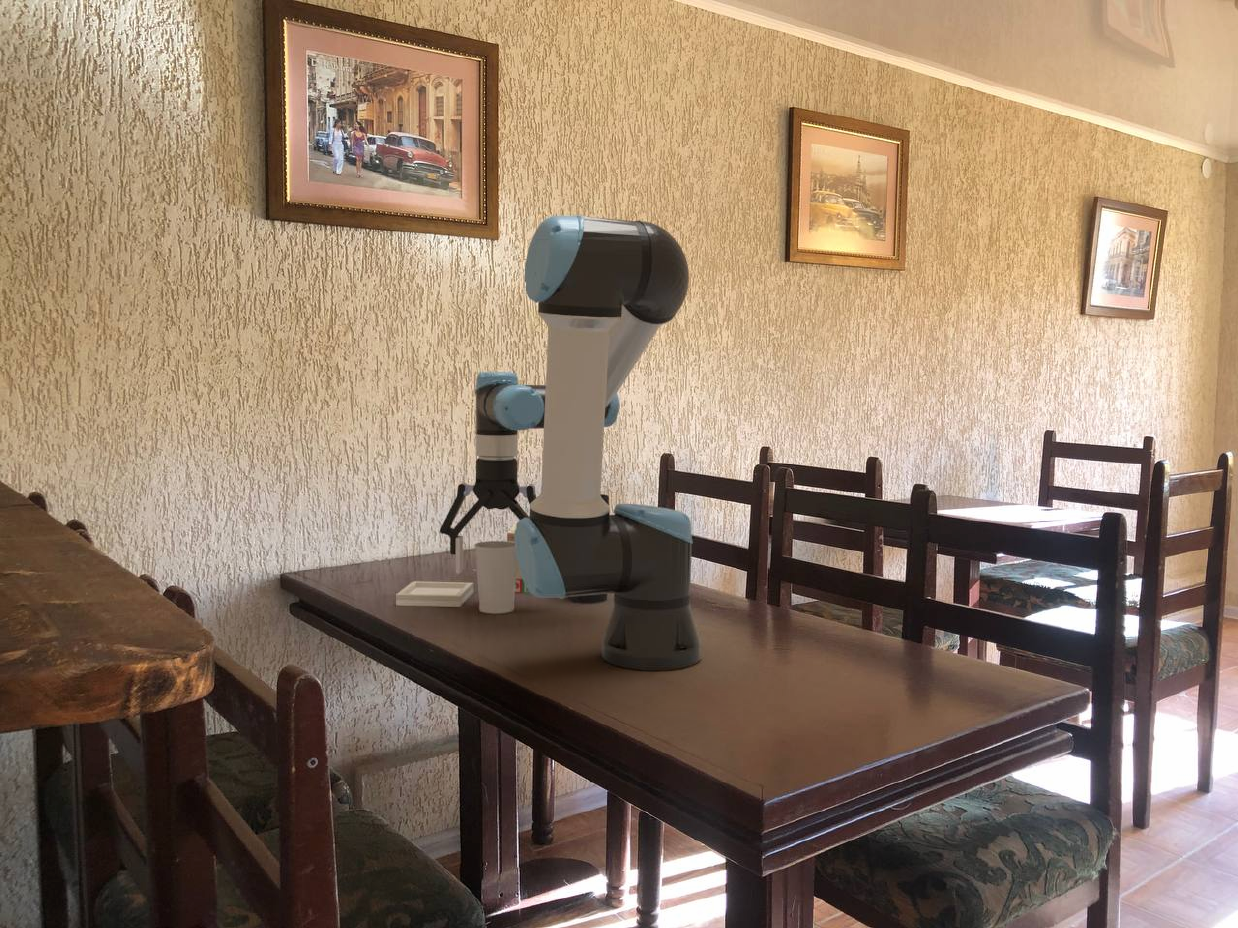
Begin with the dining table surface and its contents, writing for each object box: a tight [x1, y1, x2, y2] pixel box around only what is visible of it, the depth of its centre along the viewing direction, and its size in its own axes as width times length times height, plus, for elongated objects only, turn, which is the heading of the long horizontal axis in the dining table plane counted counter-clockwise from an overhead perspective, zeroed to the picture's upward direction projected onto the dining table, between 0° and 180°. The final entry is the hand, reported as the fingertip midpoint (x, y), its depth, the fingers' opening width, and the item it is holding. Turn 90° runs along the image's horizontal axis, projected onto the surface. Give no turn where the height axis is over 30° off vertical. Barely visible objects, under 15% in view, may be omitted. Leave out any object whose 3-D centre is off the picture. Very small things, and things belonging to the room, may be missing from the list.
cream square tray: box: [395, 580, 474, 608], centre depth 188 cm, size 12×12×2 cm
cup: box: [474, 540, 517, 614], centre depth 180 cm, size 8×8×12 cm
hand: (496, 573), depth 180 cm, fingers open, 13 cm apart
